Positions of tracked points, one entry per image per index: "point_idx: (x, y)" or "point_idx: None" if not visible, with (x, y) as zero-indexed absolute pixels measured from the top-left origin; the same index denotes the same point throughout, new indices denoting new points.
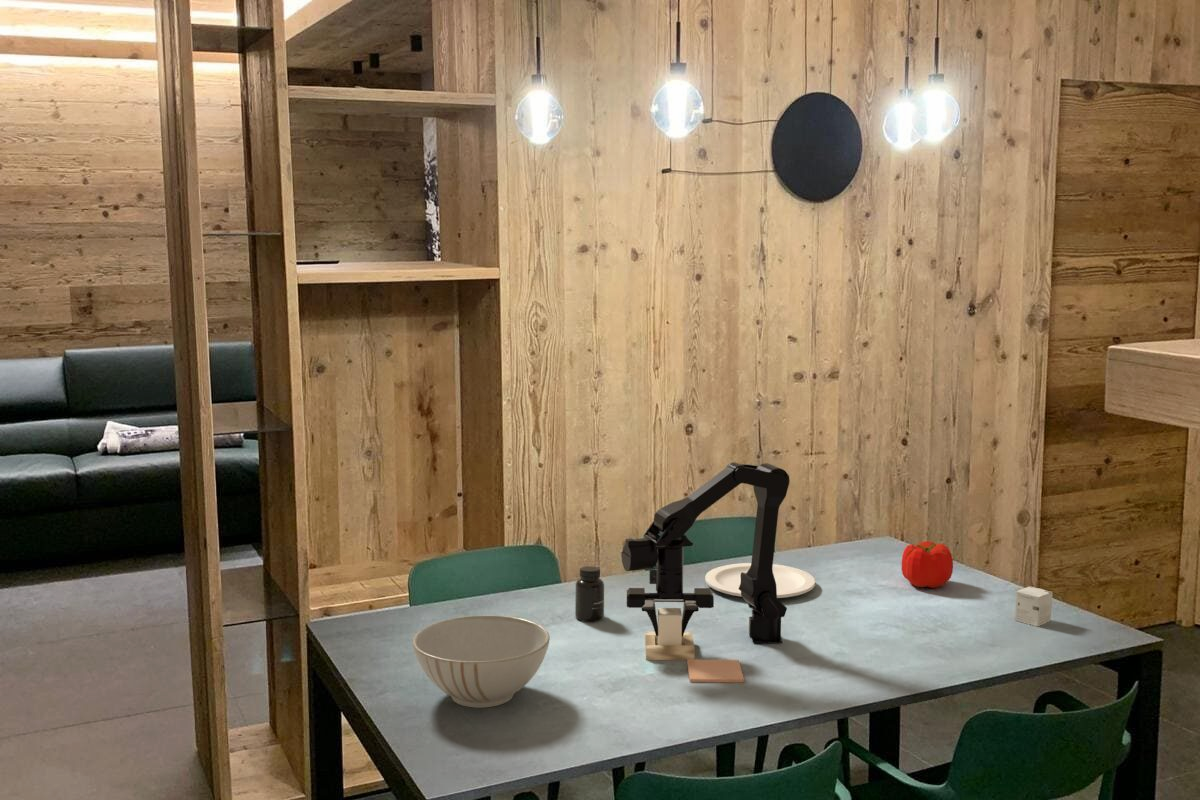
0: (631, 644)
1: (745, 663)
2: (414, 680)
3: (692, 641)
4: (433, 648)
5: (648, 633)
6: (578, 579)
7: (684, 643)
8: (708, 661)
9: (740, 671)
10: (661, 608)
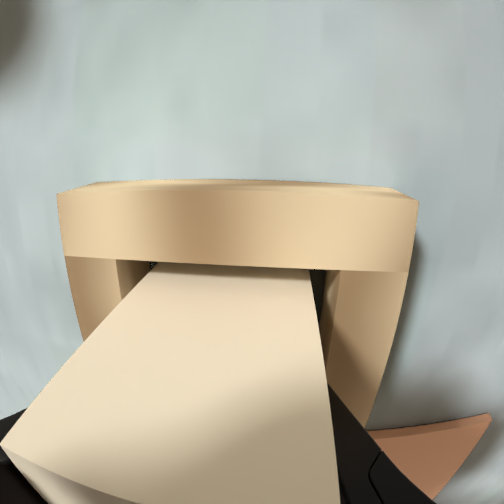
0: (42, 210)
1: (501, 413)
2: None
3: (375, 379)
4: None
5: (76, 225)
6: None
7: None
8: (389, 449)
9: (445, 481)
10: (41, 474)
